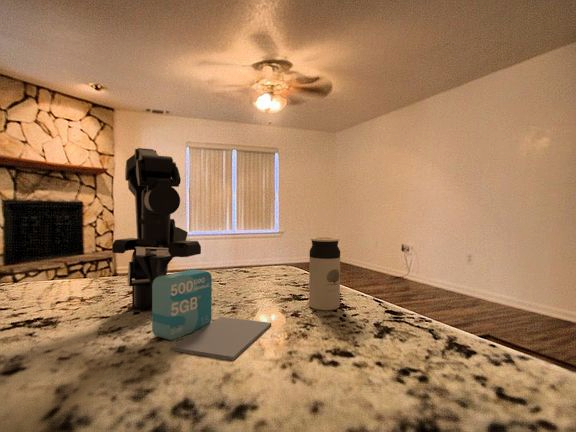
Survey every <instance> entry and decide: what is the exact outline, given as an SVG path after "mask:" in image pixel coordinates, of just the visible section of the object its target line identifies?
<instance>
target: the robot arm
mask: <svg viewBox="0 0 576 432" xmlns="http://www.w3.org/2000/svg"><path fill="white" fill-rule="evenodd" d="M125 161H126V162H125V170H124V171H125V172H124V174H125V175H124V177H125V178H124V179H125V181H127V186H128V190H129V191H130V192H131V194H132V195H133V196H134V201H135V204H134V205H135V222H136V223H135V224H136V226H135V227H136V238H135V237H129V238H127V237H126V238H119V239H115V240H114V241H113V242H112V244H111V245H112V246H111V247H112V248H111V249H112V254H125V253H126V252H128V251H133V252H132V254H131V260H130V261H129V262H128V269H127V284H128V287H131V293H132V294H131V297H132V299H131V303H132V305H131V304H130V305H129V306H127V309H128V310H132V311H133V310H134V311H142V312H150V311H152V284H153V281H154V280H155V278H157V277H159V276H163V275H168V274H167V273H168V268H169V264H170V262H171V261H172V260H173V259H174V258H188V257H193V256H197V255H201V253H202V246H201V244H200V242H199V241H198V240H187V238H188V233H189V232H188V231H186V230H184V229H183V228H180V227H178V226H176V221H175V218H171V215H172V214H174V213H175V212H176V211H177V210H178V209H179V207H180V205H181V197H180V194H179V192H178V191H177V190H176V189H175V188H179V187H180V184H181V181H182V180H181V175H180V172H179V167H178V166H177V164H176V161H174V158H173V157H172V156H169V155H159V154H158V153H157V150H154V149H153V148H145V147H143V148H142V147H138V148H134V154H133V155H131V156H130V157H129V158H128V159H127V160H125Z"/></svg>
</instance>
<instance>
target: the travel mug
mask: <svg viewBox="0 0 576 432" xmlns="http://www.w3.org/2000/svg"><path fill="white" fill-rule="evenodd" d="M310 240H311V247H310V249H309V265H308V266H309V273H308V275H309V279H308V281H309V283H308V285H309V287H308V288H309V289H308V290H309V291H308V292H309V294H308V298H309V299H308V306H309V307H310V308H311V309H314V310H317V311H323V312H324V311H329V312H330V311H334V310H337V309H339V308H340V307H341V301H340V300H341V250H340V248H339V245H338V244H339V241H341V240H340V238H338V237H333V236H332V237H330V236H329V237H328V236H316V237H314V236H313V237H311V238H310Z"/></svg>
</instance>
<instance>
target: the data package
mask: <svg viewBox="0 0 576 432" xmlns="http://www.w3.org/2000/svg"><path fill="white" fill-rule="evenodd" d="M212 279H213V278H212V274H211V272H210V271H205V270H201V269H200V270H199V269H190V270H183V271H180V272H173V273H170V274H169V273H168V274H167V275H163V276H159V277H157V278H155V280H154V281H153V284H152V310H151V311H152V313H151V315H152V320H151V322H152V326H151V329H152V334H153V335H154V336H156V337H158V338H162V339H165V340H168V341H174V340H176V339H179V338H181V337H183V336H187V335H190V334H191V333H192V334H193V333H194V332H196V331H198V330H199V329H201V328H203V327H204V326H206V325H208V324H209V323H211V322H212V310H213V309H212V301H213V299H212V293H213V292H212V291H213V290H212V286H213V285H212V284H213V283H212Z"/></svg>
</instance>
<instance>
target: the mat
mask: <svg viewBox="0 0 576 432" xmlns="http://www.w3.org/2000/svg"><path fill="white" fill-rule="evenodd" d="M270 327H272V322H267V321H258V320H252V319H251V320H250V319H244V318H243V319H242V318H234V317H226V316H219V317H218V318H216V319H214V320H213V321H211V322H210V323H209V324H208V325H206V326H204V327H203V328H201V329H199V330H197V331H194V332H192V334H191V333H190V334H189V335H188V336H185V337H184V338H183V339H182V340H179V341H178V342H177V343H175V344H173V345H172V346H170V351H174V352H178V353H179V352H180V353H186V354H192V355H198V356H202V357H203V356H204V357H210V358H215V359H224V360H229V361H234V360H236V359H237V358H238V357H239V356H240V355H241V354H242V353H243V352H244V351H246V349H247V348H248V347H250V346H251V345H252V344H253V343H254V342H255V341H256V340H257V339H259V338H260V337H261V336H262V335H263V334H264V333H265V332H266V331H267V330H268V329H269V328H270Z"/></svg>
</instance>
